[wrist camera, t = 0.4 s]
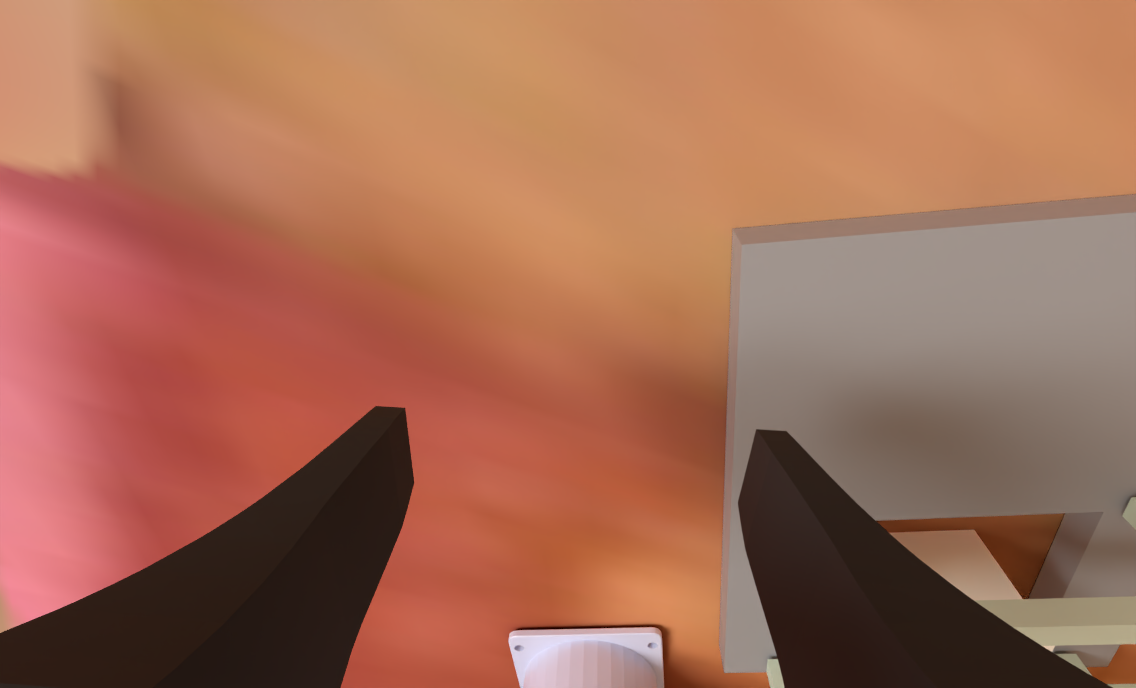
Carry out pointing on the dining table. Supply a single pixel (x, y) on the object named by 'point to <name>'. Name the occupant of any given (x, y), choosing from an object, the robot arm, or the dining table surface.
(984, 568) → the cream block
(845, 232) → the puzzle board
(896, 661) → the robot arm
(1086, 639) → the cream slatted rack
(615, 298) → the dining table surface
